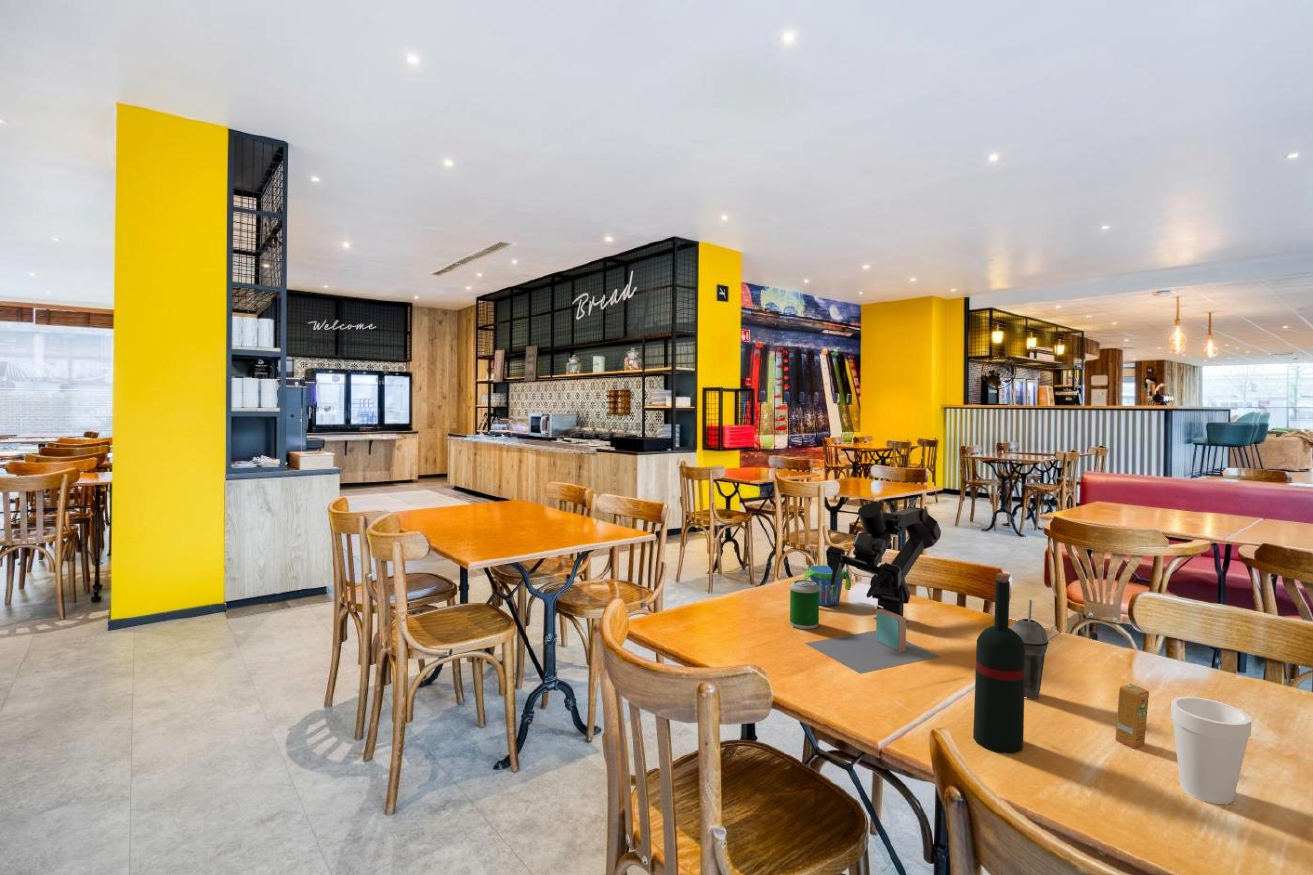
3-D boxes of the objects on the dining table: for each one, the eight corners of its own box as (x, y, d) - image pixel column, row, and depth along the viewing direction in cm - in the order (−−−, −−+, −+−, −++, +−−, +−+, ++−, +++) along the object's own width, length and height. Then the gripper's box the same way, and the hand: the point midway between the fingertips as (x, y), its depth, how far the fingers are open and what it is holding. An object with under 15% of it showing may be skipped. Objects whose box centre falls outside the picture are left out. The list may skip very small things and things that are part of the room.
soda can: (821, 632, 174) (822, 586, 174) (792, 632, 175) (793, 586, 174) (815, 622, 182) (815, 579, 181) (787, 622, 182) (787, 578, 181)
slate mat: (880, 631, 175) (880, 629, 175) (941, 659, 156) (941, 656, 156) (804, 645, 165) (804, 643, 165) (860, 676, 147) (860, 673, 147)
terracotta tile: (881, 640, 167) (882, 608, 167) (905, 651, 160) (906, 617, 159) (875, 641, 166) (876, 609, 166) (899, 652, 159) (899, 619, 159)
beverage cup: (1042, 689, 140) (1045, 595, 139) (1050, 704, 133) (1053, 605, 132) (1003, 684, 142) (1006, 591, 141) (1009, 699, 135) (1012, 601, 134)
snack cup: (841, 596, 206) (842, 563, 206) (859, 606, 196) (859, 572, 196) (794, 599, 203) (794, 566, 203) (809, 610, 193) (809, 575, 192)
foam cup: (1179, 802, 101) (1183, 718, 100) (1158, 770, 109) (1162, 692, 109) (1259, 816, 97) (1263, 729, 97) (1231, 782, 106) (1235, 702, 105)
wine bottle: (1037, 740, 119) (1043, 573, 117) (1009, 758, 113) (1015, 582, 111) (993, 723, 125) (997, 564, 124) (964, 739, 119) (969, 573, 118)
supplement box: (1135, 749, 116) (1137, 693, 115) (1114, 740, 119) (1117, 685, 118) (1147, 745, 117) (1149, 689, 117) (1126, 736, 120) (1128, 682, 120)
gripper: (837, 515, 174) (810, 555, 165) (910, 535, 163) (885, 580, 154) (840, 545, 181) (815, 586, 172) (910, 566, 170) (887, 611, 161)
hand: (849, 590), depth 164 cm, fingers open, 9 cm apart
